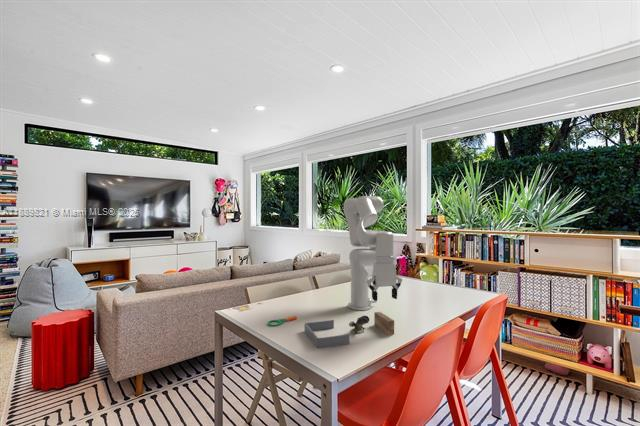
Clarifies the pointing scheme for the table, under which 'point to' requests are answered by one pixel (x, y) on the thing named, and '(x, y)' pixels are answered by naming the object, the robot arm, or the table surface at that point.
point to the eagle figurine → (359, 323)
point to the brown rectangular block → (384, 323)
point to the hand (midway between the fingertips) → (384, 299)
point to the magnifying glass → (281, 321)
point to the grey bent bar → (325, 340)
